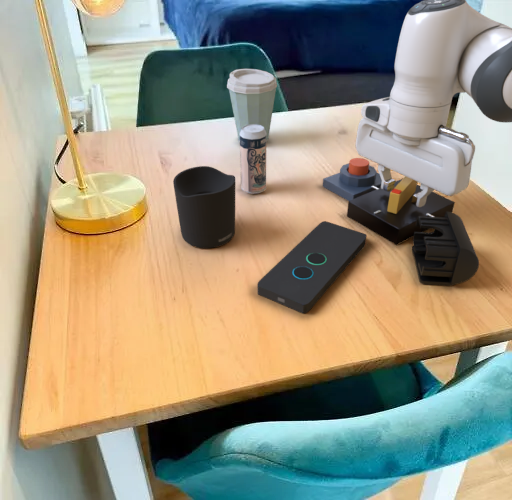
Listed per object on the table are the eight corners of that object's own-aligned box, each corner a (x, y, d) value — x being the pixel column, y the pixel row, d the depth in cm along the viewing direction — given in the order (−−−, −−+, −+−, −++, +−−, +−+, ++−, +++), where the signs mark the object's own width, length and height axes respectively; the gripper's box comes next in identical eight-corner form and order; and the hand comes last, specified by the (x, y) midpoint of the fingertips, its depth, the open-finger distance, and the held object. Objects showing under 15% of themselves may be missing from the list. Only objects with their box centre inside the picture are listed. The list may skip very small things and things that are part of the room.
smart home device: (254, 283, 69) (322, 219, 83) (254, 293, 70) (321, 228, 84) (307, 305, 66) (369, 234, 79) (306, 315, 67) (368, 243, 80)
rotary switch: (396, 190, 94) (398, 175, 93) (456, 220, 86) (460, 203, 84) (342, 213, 88) (343, 197, 86) (401, 248, 79) (405, 231, 77)
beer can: (254, 198, 92) (253, 135, 85) (235, 189, 95) (233, 128, 88) (271, 188, 95) (272, 127, 88) (253, 181, 98) (252, 121, 91)
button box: (359, 172, 101) (361, 156, 99) (390, 187, 95) (393, 170, 93) (322, 186, 96) (323, 169, 94) (352, 203, 91) (354, 186, 89)
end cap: (472, 289, 71) (484, 250, 67) (420, 286, 71) (429, 247, 67) (457, 249, 79) (467, 211, 75) (410, 246, 79) (418, 209, 76)
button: (357, 166, 96) (359, 156, 95) (372, 173, 93) (373, 162, 92) (344, 171, 94) (345, 161, 93) (358, 178, 92) (359, 168, 91)
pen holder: (180, 253, 78) (174, 197, 72) (178, 221, 86) (172, 168, 80) (240, 247, 79) (239, 191, 74) (233, 217, 87) (231, 163, 81)
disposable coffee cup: (280, 134, 117) (282, 68, 108) (271, 154, 108) (272, 83, 99) (236, 131, 119) (234, 65, 110) (223, 149, 110) (220, 80, 101)
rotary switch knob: (406, 189, 88) (410, 169, 86) (415, 191, 88) (419, 172, 85) (386, 211, 82) (390, 191, 80) (396, 214, 82) (400, 193, 79)
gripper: (490, 132, 71) (467, 216, 79) (380, 95, 85) (370, 170, 93) (463, 143, 68) (442, 230, 76) (354, 103, 82) (345, 180, 90)
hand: (402, 197), depth 84 cm, fingers open, 5 cm apart
